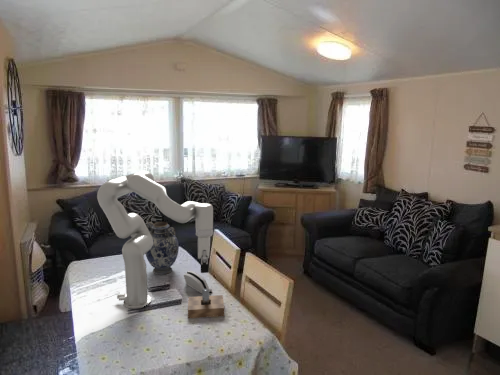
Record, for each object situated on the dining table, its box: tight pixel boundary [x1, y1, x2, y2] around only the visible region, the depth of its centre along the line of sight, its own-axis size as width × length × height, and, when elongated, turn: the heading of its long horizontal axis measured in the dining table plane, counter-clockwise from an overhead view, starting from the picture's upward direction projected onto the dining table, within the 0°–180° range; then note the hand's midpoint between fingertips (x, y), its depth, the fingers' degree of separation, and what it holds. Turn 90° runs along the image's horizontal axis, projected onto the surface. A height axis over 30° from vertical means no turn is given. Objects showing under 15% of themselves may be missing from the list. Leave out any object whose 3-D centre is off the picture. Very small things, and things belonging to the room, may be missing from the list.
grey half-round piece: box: [183, 270, 213, 294], centre depth 195 cm, size 17×5×10 cm, turn 43°
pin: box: [201, 289, 210, 305], centre depth 174 cm, size 3×3×10 cm
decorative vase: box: [144, 221, 180, 276], centre depth 214 cm, size 21×19×28 cm
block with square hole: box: [187, 294, 225, 319], centre depth 175 cm, size 16×12×4 cm
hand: (204, 268), depth 171 cm, fingers open, 9 cm apart
